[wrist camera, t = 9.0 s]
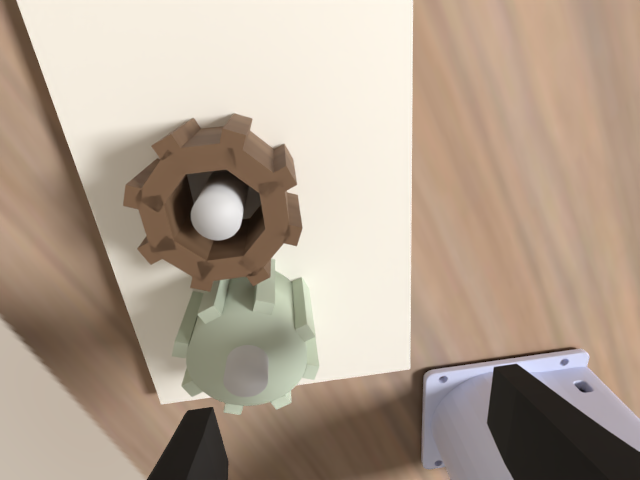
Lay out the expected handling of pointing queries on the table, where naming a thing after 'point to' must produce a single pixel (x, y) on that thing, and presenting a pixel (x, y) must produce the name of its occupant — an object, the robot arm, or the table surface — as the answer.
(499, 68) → the table surface
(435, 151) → the table surface
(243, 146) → the walnut gear
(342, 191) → the gear board
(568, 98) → the table surface
